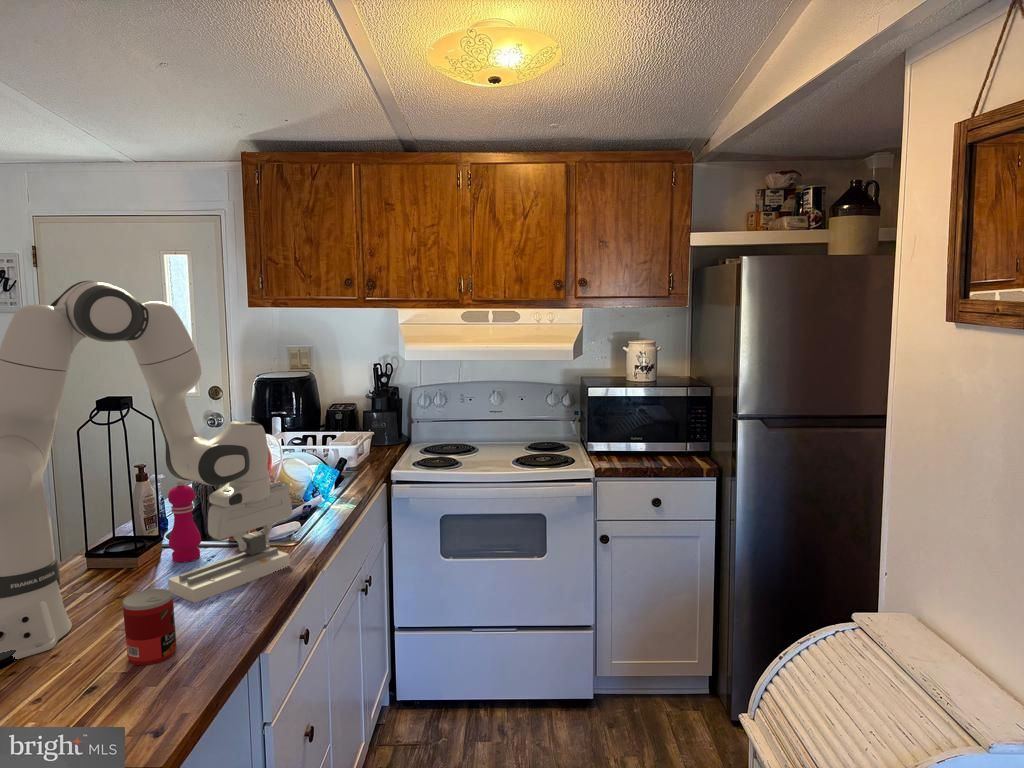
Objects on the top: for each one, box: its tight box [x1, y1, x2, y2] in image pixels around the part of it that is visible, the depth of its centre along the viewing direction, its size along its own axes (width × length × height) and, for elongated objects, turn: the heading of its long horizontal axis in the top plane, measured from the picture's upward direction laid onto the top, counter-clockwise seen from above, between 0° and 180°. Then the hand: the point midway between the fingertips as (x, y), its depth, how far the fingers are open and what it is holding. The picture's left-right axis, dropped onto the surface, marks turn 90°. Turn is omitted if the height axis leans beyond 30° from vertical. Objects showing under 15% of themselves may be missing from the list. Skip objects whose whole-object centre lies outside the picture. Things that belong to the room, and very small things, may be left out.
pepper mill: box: [167, 479, 202, 564], centre depth 170 cm, size 7×7×20 cm
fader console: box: [167, 544, 291, 604], centre depth 158 cm, size 24×10×4 cm, turn 144°
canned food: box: [122, 588, 177, 666], centre depth 124 cm, size 8×8×11 cm
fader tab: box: [241, 530, 267, 556], centre depth 163 cm, size 4×4×6 cm
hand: (254, 546), depth 163 cm, fingers closed on fader tab, 4 cm apart
